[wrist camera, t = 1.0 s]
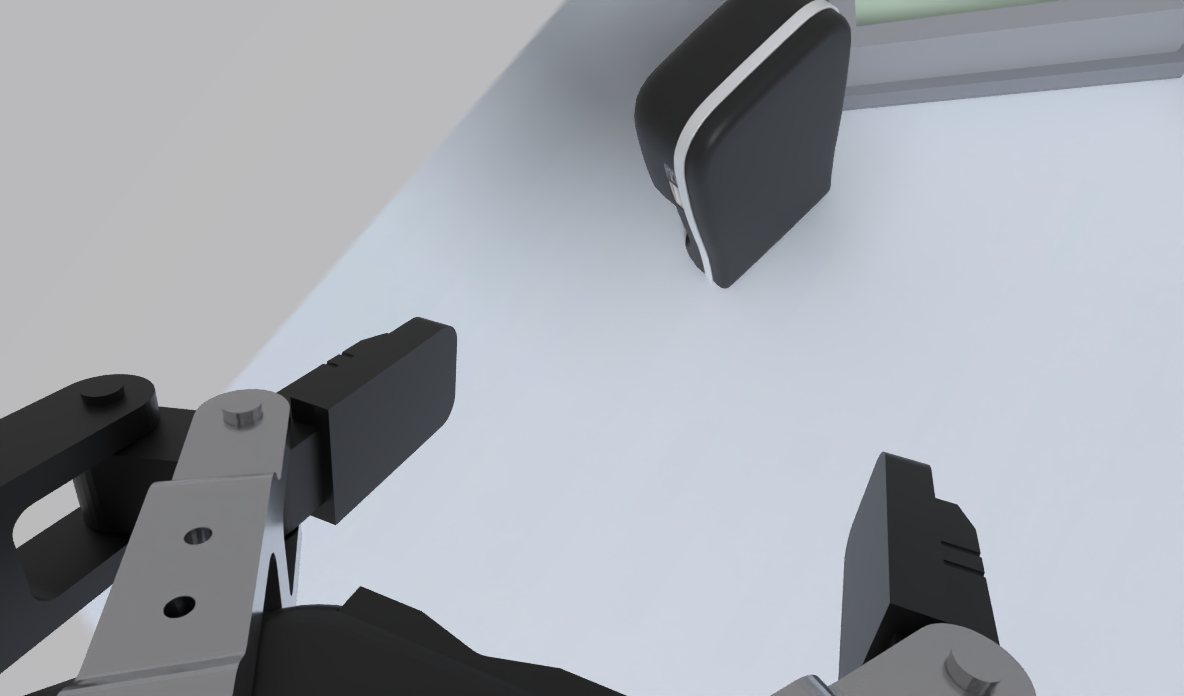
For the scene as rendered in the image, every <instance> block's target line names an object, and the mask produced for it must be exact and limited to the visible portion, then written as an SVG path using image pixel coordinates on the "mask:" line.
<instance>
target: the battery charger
mask: <svg viewBox="0 0 1184 696" xmlns="http://www.w3.org/2000/svg"><path fill="white" fill-rule="evenodd" d="M850 48H851V28H850V25H849V23H848V22H847V20H846V18H845V17H844V16H843V15H841V14H840V12H839V10H838V9H837V8H836V7H835V6H834V5H832V4H830V3H829V2H827V1H825V0H727V1H726V2H725V3H724V4H723V5H722V6H721V7H720V8H718V9H717V10H716V11H715V12H714V13H713V14H712V15H711V16H710V17H709V18H708V19H707V20H706V21H704V22H703V23H702V24H701V25H700V26H699V27H698V28H697V29H696V30H695V31H694V32H693V33H692V34H691V35H690V36H689V37H688V38H687V39H686V40H685V41H684V42H683V43H682V44H681V45H680V46H679V47H678V48H677V49H676V50H675V51H674V52H673V53H671V54H670V55H669V56H668V57H667V58H666V59H665V60H664V61H663V62H662V63H661V64H660V65H659V66H658V67H657V68H656V69H655V71H654V72H653V73H652V74H651V75H650V76H649V77H648V78H647V80H646V81H645V83H644V84H643V86H642V87H641V89H640V91H639V94H638V96H637V98H636V105H635V114H634V118H635V127H636V131H637V135H638V139H639V143H640V147H641V150H642V154H643V157H644V160H645V163H646V166H647V169H648V171H649V174H650V177H651V179H652V181H653V183H654V186H655V187H656V188H657V189H658V190H659V191H660V192H661V193H662V194H663V195H664V196H665V197H666V198H667V199H668V200H670V201H671V202H672V203H673V204H674V205H675V206H676V207H677V210H678V212H679V215H680V217H681V220H682V222H683V225H684V227H685V229H686V231H687V236H686V248H687V251H688V253H689V256H690V257H691V259H692V260H693V261H694V263H695V264H696V266H697V267H698V268H699V269H700V270H701V271H702V272H704V273H705V276H706V278H707V279H709V280H710V281H711V282H712V283H716V284H717V285H718V286H720V287H721V288H728V287H730V286H731V285H732V284H733V283H734V282H735V281H736V280H738V279H739V278H740V277H741V276H742V275H743V274H744V273H745V272H746V271H747V270H748V269H749V268H750V267H751V266H752V265H753V264H754V263H755V262H757V261H758V260H759V259H760V258H761V257H762V256H763V255H764V254H765V253H766V252H767V251H768V250H769V249H770V248H771V247H772V246H773V245H774V244H775V243H776V242H778V241H779V240H780V239H781V238H782V237H783V236H784V235H785V234H786V233H787V232H788V231H789V230H790V229H791V228H792V227H793V226H794V225H795V224H796V223H797V222H798V221H799V220H800V219H801V218H802V217H803V216H804V215H805V214H806V213H807V212H808V211H809V210H810V209H811V208H812V207H814V206H815V205H816V204H817V203H818V202H819V201H820V200H821V199H822V198H823V197H824V196H825V195H826V194H827V192H828V191H829V190H830V186H831V175H832V167H833V158H834V151H835V146H836V141H837V136H838V131H839V125H840V120H841V114H842V108H843V103H844V97H845V90H846V83H847V75H848V67H849V58H850Z"/></svg>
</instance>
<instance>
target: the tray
mask: <svg viewBox="0 0 1184 696" xmlns="http://www.w3.org/2000/svg"><path fill="white" fill-rule="evenodd" d="M825 1H827V2H829V3H830V4H832V5H834V6H835V7H836V8H837V9H838V10H839V12H840V14H841V15H843V16H844V17H845V18H846V20H847V22H848V23H849V25H850V28H851V48H850V58H849V67H848V75H847V83H846V90H845V97H844V103H843V108H842V110H852V109H862V108H873V107H883V106H893V105H903V104H913V103H924V102H934V101H944V100H954V99H964V98H975V97H985V96H995V95H1005V94H1016V93H1026V92H1036V91H1046V90H1056V89H1067V88H1077V87H1087V86H1097V85H1107V84H1118V83H1128V82H1138V81H1148V80H1159V79H1169V78H1179V77H1181V76H1182V75H1183V74H1184V0H825Z"/></svg>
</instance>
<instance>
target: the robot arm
mask: <svg viewBox="0 0 1184 696" xmlns="http://www.w3.org/2000/svg"><path fill="white" fill-rule="evenodd" d="M456 355H457V334H456V331H455V329H454V328H453V327H451V326H448V325H445V324H441V323H438V322H434V321H431V320H427V319H424V318H421V317H415V318H413V319H411V320H410V321H408V322H406V323H405V324H403V325H402V326H400V327H399V328H397V329H395V330H394V331H392V332H391V333H389V334H388V333H385V334H381V335H378V336H375V337H371V338H368V339H364V340H361V341H360V342H358V343H356V344H355V345H353V346H351V347H350V348H348V349H347V350H345V351H343V352H342V355H340V354H338V355H337V356H335V357H334V358H332V359H330V360H329V361H327V364H322V365H321V366H319V367H317V368H316V369H314V370H313V371H311V372H309V373H308V374H306V375H304V376H303V377H301V378H300V379H298V380H296V381H295V382H293V383H291V384H290V385H288V386H287V387H285V388H283V389H282V390H280V391H279V392H277V393H274V392H271V391H267V390H258V389H246V390H237V391H232V392H228V393H224V394H221V395H218V396H216V397H214V398H211V399H209V400H208V401H206V402H204V403H203V404H202V405H201V406H200V407H199V408H198V409H197V410H187V409H177V408H168V407H158V403H157V397H156V392H155V388H154V385H153V384H152V383H151V382H150V381H149V380H147V379H145V378H142V377H139V376H135V375H127V374H126V375H125V374H114V375H103V376H98V377H93V378H89V379H85V380H82V381H79V382H76V383H74V384H71V385H69V386H67V387H65V388H63V389H61V390H59V391H57V392H55V393H53V394H51V395H49V396H47V397H45V398H43V399H40V400H38V401H36V402H34V403H32V404H30V405H28V406H26V407H24V408H22V409H20V410H18V411H16V412H14V413H12V414H10V415H8V416H6V417H4V418H2V419H0V674H1V672H3V671H4V670H6V669H7V668H8V667H9V666H11V665H12V664H13V663H14V662H16V661H17V660H18V659H19V658H20V657H22V656H23V655H24V654H26V653H27V652H28V651H29V650H31V649H32V648H33V647H34V646H36V645H37V644H38V643H39V642H41V641H42V640H43V639H44V638H45V637H47V636H48V635H49V634H51V633H52V632H53V631H54V630H56V629H57V628H58V627H59V626H61V625H62V624H63V623H64V622H66V621H67V620H68V619H69V618H71V617H72V616H73V615H74V614H76V613H77V612H78V611H80V610H81V609H82V608H83V607H85V606H86V605H87V604H88V603H90V602H91V601H92V600H93V599H95V598H96V597H97V596H98V595H100V594H101V593H102V592H103V591H105V590H106V589H107V588H108V587H110V586H111V585H112V584H113V585H112V588H111V590H110V593H109V596H108V598H107V601H106V604H105V606H104V609H103V612H102V614H101V617H100V619H99V622H98V625H97V627H96V630H95V633H94V635H93V638H92V641H91V643H90V646H89V649H88V651H87V654H86V657H85V659H84V662H83V665H82V667H81V670H80V672H79V674H78V676H77V677H76V678H73V679H71V680H68V681H65V682H62V683H59V684H56V685H53V686H50V687H47V688H45V689H42V690H39V691H36V692H33V693H30V694H27V695H25V696H626V695H624V694H621V693H619V692H616V691H614V690H611V689H609V688H607V687H604V686H602V685H599V684H597V683H594V682H592V681H590V680H587V679H585V678H582V677H580V676H577V675H575V674H573V673H570V672H568V671H565V670H563V669H560V668H555V667H549V666H542V665H536V664H530V663H524V662H518V661H512V660H506V659H500V658H493V657H487V656H483V655H480V654H478V653H476V652H475V651H473V650H472V649H470V648H469V647H468V646H466V645H465V644H464V643H462V642H461V641H460V640H459V639H457V638H456V637H455V636H453V635H452V634H451V633H449V632H448V631H447V630H445V629H444V628H443V627H442V626H440V625H439V624H438V623H436V622H435V621H434V620H432V619H431V618H430V617H428V616H427V615H426V614H425V613H423V612H422V611H420V610H417V609H415V608H412V607H410V606H407V605H405V604H403V603H400V602H398V601H395V600H393V599H390V598H388V597H386V596H383V595H381V594H378V593H376V592H373V591H371V590H369V589H366V588H364V587H361V586H360V587H359V588H358V589H357V590H356V592H355V593H354V594H353V595H352V596H351V597H350V598H349V599H348V600H347V601H346V603H345V604H344V605H343V606H339V605H323V604H315V605H300V606H296V602H297V590H298V578H299V566H300V554H301V542H302V531H301V523H302V522H303V521H304V520H305V519H306V518H307V517H309V516H310V515H311V516H314V517H316V518H319V519H321V520H324V521H326V522H329V523H332V524H334V525H336V524H338V523H339V522H340V521H341V520H342V519H343V518H344V517H345V516H346V515H347V514H348V513H349V512H350V511H352V510H353V509H354V508H355V507H356V506H357V505H358V504H359V503H360V502H361V501H362V500H363V499H364V498H365V497H367V496H368V495H369V494H370V493H371V492H372V491H373V490H374V489H375V488H376V487H377V486H378V485H379V484H380V483H382V482H383V481H384V480H385V479H386V478H387V477H388V476H389V475H390V474H391V473H392V472H393V471H394V470H395V469H397V468H398V467H399V466H400V465H401V464H402V463H403V462H404V461H405V460H406V459H407V458H408V457H409V456H410V455H412V454H413V453H414V452H415V451H416V450H417V449H418V448H419V447H420V446H421V445H422V444H423V443H424V442H425V441H427V440H428V439H429V438H430V437H431V436H432V435H433V434H434V433H435V432H436V431H437V430H438V429H439V428H440V427H442V425H443V424H444V423H445V422H446V420H447V419H448V417H449V415H450V413H451V410H452V407H453V404H454V399H455V383H456ZM72 479H73V483H74V486H75V489H76V493H77V497H78V500H79V504H80V507H79V508H77V509H76V510H74V511H73V512H71V513H70V514H68V515H67V516H65V517H64V518H62V519H61V520H59V521H58V522H56V523H55V524H53V525H52V526H50V527H49V528H47V529H45V530H44V531H43V532H41V533H39V534H38V535H36V536H35V537H33V538H32V539H30V540H29V541H27V542H26V543H24V544H23V545H21V546H20V547H18V548H17V549H16V547H15V545H14V542H13V537H12V533H13V528H14V525H15V523H16V521H17V519H18V518H19V516H20V515H21V514H22V512H23V511H24V510H25V509H27V508H28V507H29V506H30V505H32V504H33V503H35V502H36V501H38V500H40V499H41V498H43V497H45V496H46V495H48V494H49V493H51V492H53V491H54V490H56V489H58V488H59V487H61V486H62V485H64V484H66V483H67V482H69V481H71V480H72ZM984 573H985V572H984V567H983V562H982V558H981V557H980V548H979V543H978V538H977V533H976V529H975V528H974V526H973V525H972V524H971V522H970V521H969V520H968V518H967V517H966V516H965V514H964V513H963V512H962V510H961V509H960V507H959V506H958V505H957V504H953V503H950V502H947V501H943V500H940V499H937V498H935V493H934V486H933V478H932V471H931V467H930V465H928V464H924V463H921V462H917V461H914V460H910V459H907V458H903V457H900V456H896V455H893V454H889V453H886V452H882V453H881V454H880V456H879V458H878V460H877V462H876V464H875V467H874V470H873V472H872V475H871V477H870V480H869V483H868V485H867V488H866V490H865V493H864V496H863V498H862V501H861V503H860V506H859V508H858V511H857V514H856V516H855V519H854V522H853V524H852V527H851V530H850V534H849V538H848V542H847V547H846V552H845V561H844V580H843V600H842V619H841V639H840V659H839V679H838V681H837V682H835V683H833V684H832V685H830V686H826V685H825V684H824V683H823V681H822V680H821V679H820V678H819V677H818V676H816V675H807V676H804V677H802V678H800V679H798V680H796V681H794V682H793V683H791V684H789V685H788V686H786V687H784V688H783V689H781V690H779V691H778V692H776V693H774V694H773V695H771V696H1036V693H1035V689H1034V687H1033V684H1032V682H1031V680H1030V678H1029V677H1028V675H1027V673H1026V672H1025V671H1024V669H1023V668H1022V667H1021V665H1020V664H1019V663H1018V662H1017V661H1016V660H1015V659H1014V658H1013V657H1012V656H1011V655H1010V654H1009V653H1008V652H1007V651H1006V650H1004V649H1003V648H1002V647H1000V645H999V640H998V635H997V630H996V625H995V620H994V616H993V611H992V606H991V601H990V596H989V591H988V587H987V582H986V578H985V577H984Z"/></svg>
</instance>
